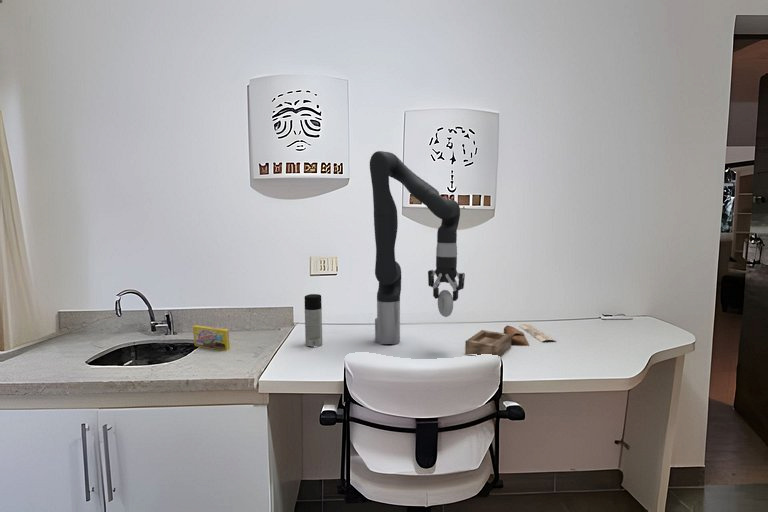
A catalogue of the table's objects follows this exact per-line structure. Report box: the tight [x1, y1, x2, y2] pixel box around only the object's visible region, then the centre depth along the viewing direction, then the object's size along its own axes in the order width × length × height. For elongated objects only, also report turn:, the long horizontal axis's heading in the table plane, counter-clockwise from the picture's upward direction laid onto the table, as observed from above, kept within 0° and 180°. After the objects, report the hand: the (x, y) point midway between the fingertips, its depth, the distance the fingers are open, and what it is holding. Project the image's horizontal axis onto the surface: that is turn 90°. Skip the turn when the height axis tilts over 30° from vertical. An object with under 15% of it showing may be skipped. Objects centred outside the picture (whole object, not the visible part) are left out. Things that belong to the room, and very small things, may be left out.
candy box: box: [192, 324, 231, 351], centre depth 174 cm, size 16×2×8 cm, turn 68°
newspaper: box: [518, 323, 557, 343], centre depth 192 cm, size 24×7×2 cm, turn 5°
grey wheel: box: [437, 289, 454, 318], centre depth 166 cm, size 10×4×10 cm, turn 13°
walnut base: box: [464, 329, 512, 358], centre depth 170 cm, size 12×17×5 cm
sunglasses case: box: [503, 325, 530, 347], centre depth 185 cm, size 18×7×7 cm
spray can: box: [304, 293, 323, 348], centre depth 177 cm, size 7×7×20 cm
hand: (445, 299), depth 166 cm, fingers closed on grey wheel, 7 cm apart
